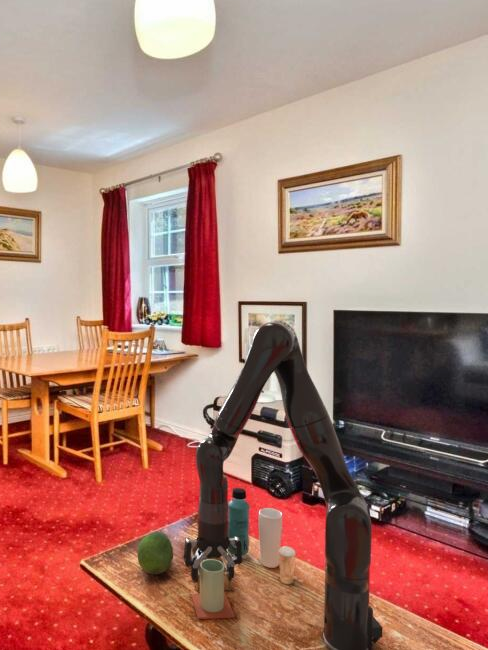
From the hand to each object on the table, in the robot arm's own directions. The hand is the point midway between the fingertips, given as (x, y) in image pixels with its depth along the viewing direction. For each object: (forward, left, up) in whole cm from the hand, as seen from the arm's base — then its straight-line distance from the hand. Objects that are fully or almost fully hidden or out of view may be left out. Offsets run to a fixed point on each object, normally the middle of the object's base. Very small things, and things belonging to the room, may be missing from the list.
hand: (212, 580), depth 122 cm
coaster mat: (0, 0, -7) cm, 7 cm away
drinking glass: (-21, -18, -7) cm, 28 cm away
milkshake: (-23, -9, -7) cm, 26 cm away
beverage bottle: (-13, -23, -7) cm, 27 cm away
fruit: (+12, -18, -7) cm, 23 cm away
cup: (0, 0, -6) cm, 6 cm away
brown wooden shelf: (-2, -15, -7) cm, 17 cm away
